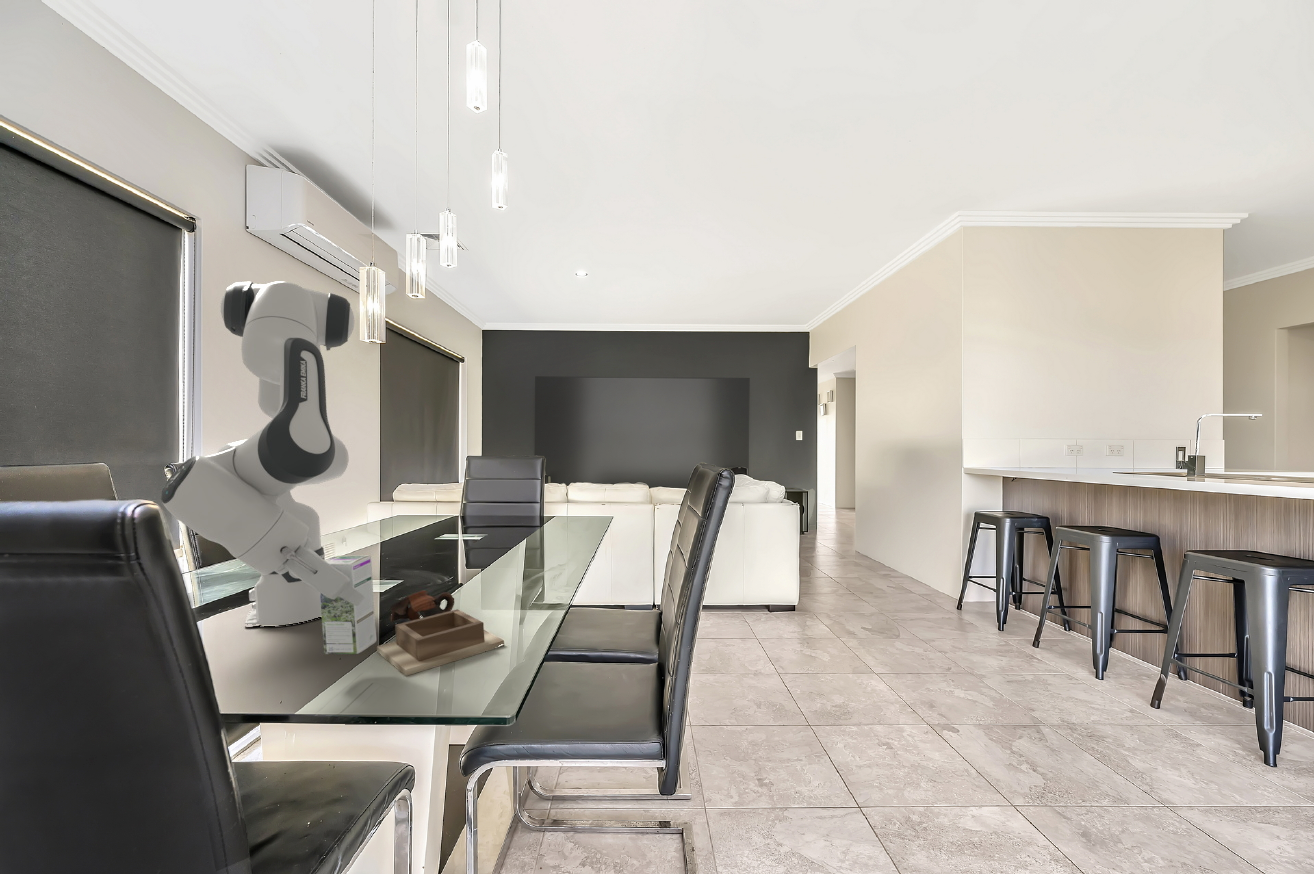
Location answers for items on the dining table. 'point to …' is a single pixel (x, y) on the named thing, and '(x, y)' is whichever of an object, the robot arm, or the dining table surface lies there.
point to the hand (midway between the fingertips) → (351, 594)
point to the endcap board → (437, 641)
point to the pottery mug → (421, 606)
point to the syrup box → (350, 609)
